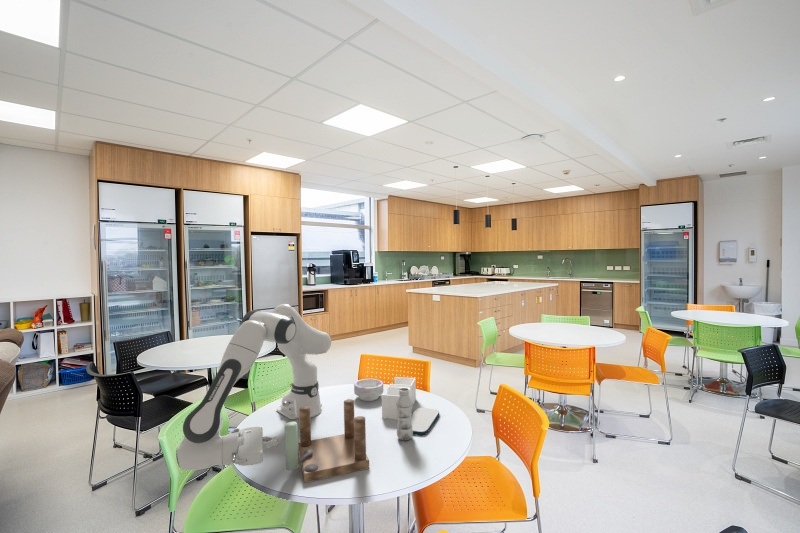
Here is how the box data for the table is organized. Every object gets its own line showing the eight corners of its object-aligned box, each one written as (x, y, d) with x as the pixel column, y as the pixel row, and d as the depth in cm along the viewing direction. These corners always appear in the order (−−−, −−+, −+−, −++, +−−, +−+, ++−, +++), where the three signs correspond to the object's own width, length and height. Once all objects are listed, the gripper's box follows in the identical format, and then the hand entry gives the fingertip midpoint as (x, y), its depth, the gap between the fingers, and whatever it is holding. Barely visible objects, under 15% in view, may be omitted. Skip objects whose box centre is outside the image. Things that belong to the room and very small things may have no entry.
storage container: (405, 420, 169) (405, 396, 169) (382, 418, 171) (381, 394, 171) (415, 399, 193) (415, 378, 193) (395, 397, 196) (394, 377, 195)
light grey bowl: (389, 397, 196) (389, 382, 196) (367, 406, 185) (367, 390, 185) (370, 390, 207) (370, 376, 207) (348, 398, 196) (348, 383, 196)
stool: (304, 482, 124) (303, 431, 123) (298, 450, 144) (297, 406, 144) (369, 468, 131) (368, 420, 131) (354, 439, 152) (353, 398, 151)
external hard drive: (425, 437, 153) (425, 432, 153) (399, 433, 157) (399, 428, 157) (441, 414, 175) (440, 410, 175) (417, 411, 179) (417, 407, 179)
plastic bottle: (414, 442, 149) (413, 392, 148) (397, 442, 148) (396, 392, 148) (412, 434, 155) (411, 386, 155) (396, 435, 155) (395, 387, 154)
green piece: (306, 450, 137) (305, 411, 136) (315, 453, 135) (314, 413, 135) (283, 468, 126) (282, 425, 125) (292, 471, 124) (291, 427, 124)
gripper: (230, 454, 114) (278, 445, 119) (234, 426, 133) (275, 420, 138) (231, 474, 114) (278, 465, 119) (235, 444, 133) (276, 437, 138)
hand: (277, 440), depth 129 cm, fingers closed
